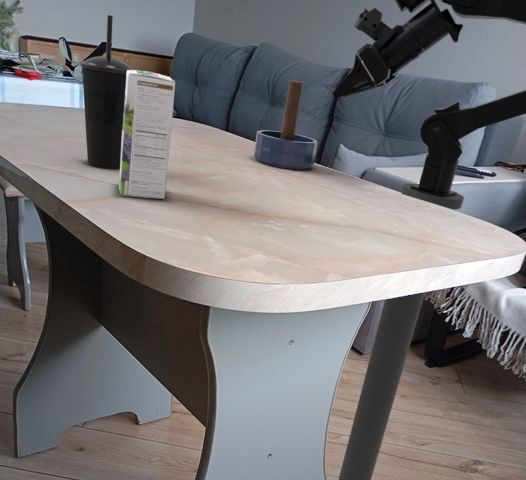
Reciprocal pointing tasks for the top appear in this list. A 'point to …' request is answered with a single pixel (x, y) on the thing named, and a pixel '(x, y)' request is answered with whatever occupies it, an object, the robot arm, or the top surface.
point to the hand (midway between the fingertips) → (338, 95)
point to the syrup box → (146, 134)
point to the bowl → (285, 150)
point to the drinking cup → (104, 105)
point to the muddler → (291, 110)
